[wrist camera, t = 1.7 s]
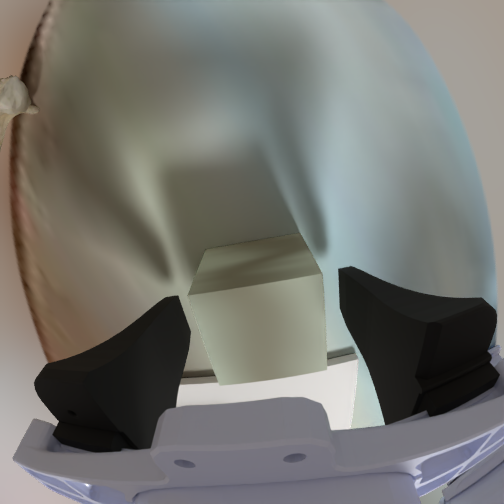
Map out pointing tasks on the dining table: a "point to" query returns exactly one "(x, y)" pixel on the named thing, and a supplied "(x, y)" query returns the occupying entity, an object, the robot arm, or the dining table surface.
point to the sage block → (261, 310)
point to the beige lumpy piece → (13, 102)
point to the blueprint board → (285, 390)
